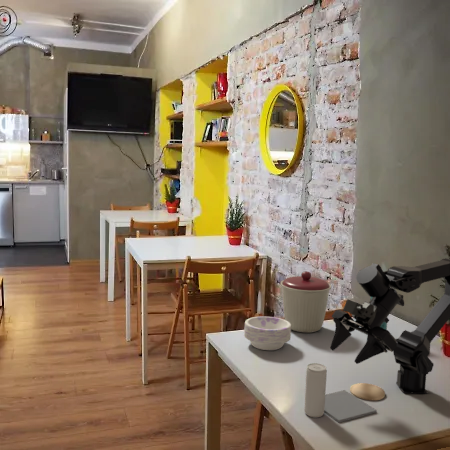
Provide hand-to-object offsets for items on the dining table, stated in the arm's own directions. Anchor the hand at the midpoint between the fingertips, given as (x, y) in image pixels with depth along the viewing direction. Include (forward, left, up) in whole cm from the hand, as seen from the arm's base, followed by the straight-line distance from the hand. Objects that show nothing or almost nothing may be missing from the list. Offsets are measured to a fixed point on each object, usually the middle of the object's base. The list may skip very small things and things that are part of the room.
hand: (343, 355), depth 131 cm
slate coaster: (-1, 0, -13) cm, 13 cm away
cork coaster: (-9, -8, -13) cm, 18 cm away
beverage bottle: (-25, -53, -14) cm, 61 cm away
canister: (0, -59, -14) cm, 61 cm away
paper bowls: (+15, -41, -14) cm, 46 cm away
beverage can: (+7, +4, -14) cm, 16 cm away
